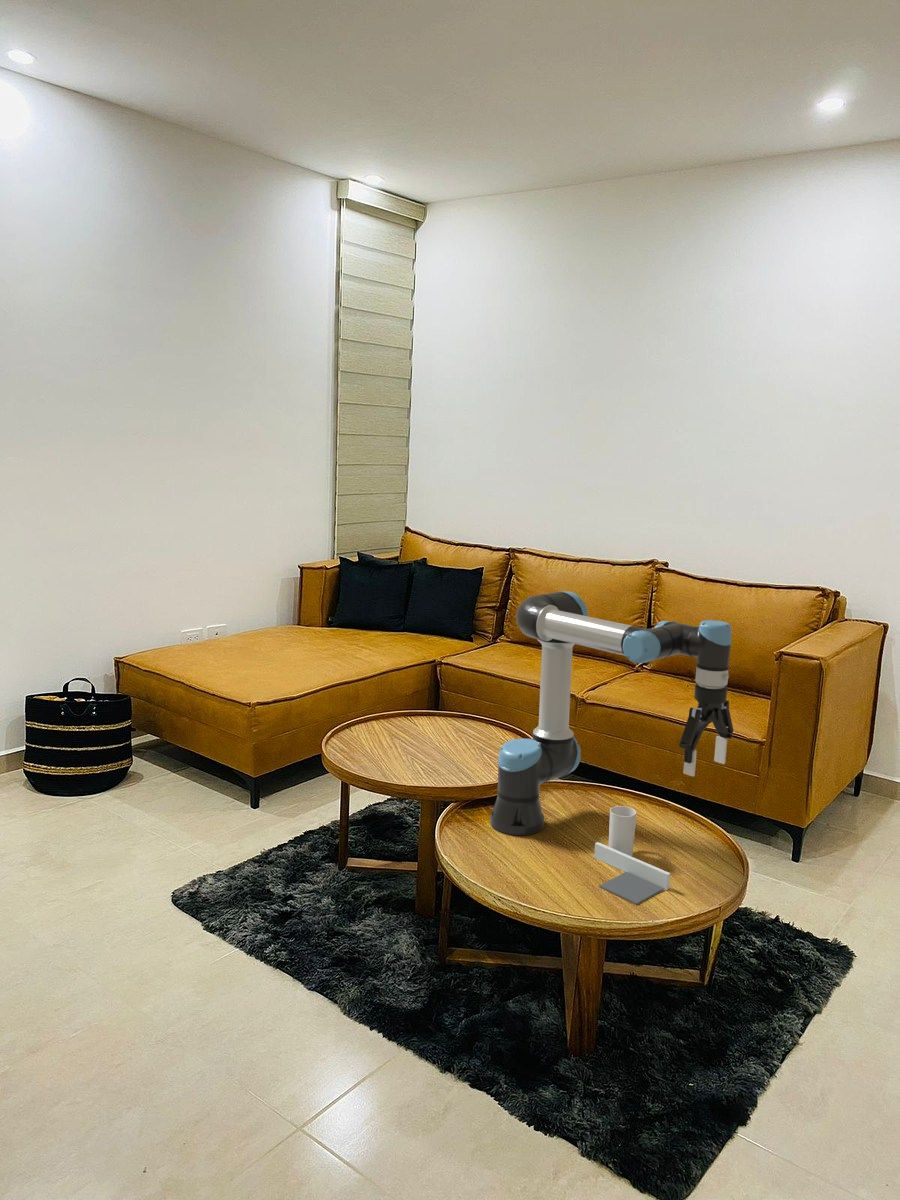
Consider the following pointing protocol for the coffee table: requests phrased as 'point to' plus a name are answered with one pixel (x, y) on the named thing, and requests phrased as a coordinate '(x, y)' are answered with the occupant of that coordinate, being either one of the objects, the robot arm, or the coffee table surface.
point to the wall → (632, 865)
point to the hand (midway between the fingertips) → (704, 768)
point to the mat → (631, 888)
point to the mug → (622, 829)
